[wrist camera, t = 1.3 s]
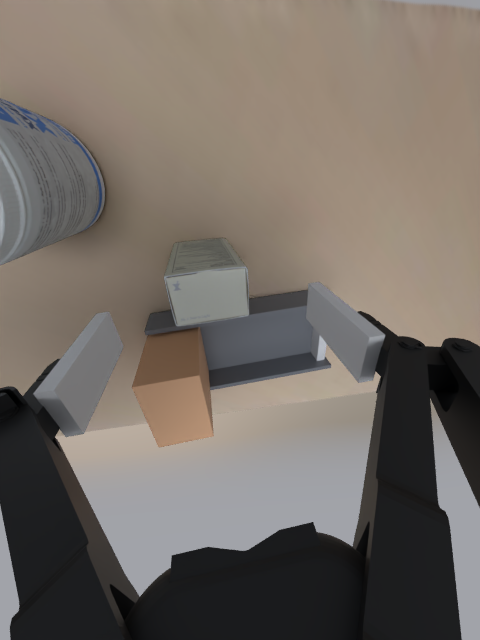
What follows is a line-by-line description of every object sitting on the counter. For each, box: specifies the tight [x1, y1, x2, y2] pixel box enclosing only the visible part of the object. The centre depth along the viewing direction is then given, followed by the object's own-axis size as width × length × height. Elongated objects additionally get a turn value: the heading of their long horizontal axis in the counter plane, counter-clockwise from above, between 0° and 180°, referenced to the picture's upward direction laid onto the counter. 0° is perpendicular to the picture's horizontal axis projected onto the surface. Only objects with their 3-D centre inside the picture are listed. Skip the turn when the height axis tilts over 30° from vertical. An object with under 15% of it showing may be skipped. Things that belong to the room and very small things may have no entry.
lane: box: [145, 290, 331, 390], centre depth 33 cm, size 24×11×4 cm, turn 95°
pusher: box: [132, 327, 214, 447], centre depth 28 cm, size 6×9×11 cm, turn 5°
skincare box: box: [164, 238, 249, 326], centre depth 23 cm, size 6×4×12 cm
